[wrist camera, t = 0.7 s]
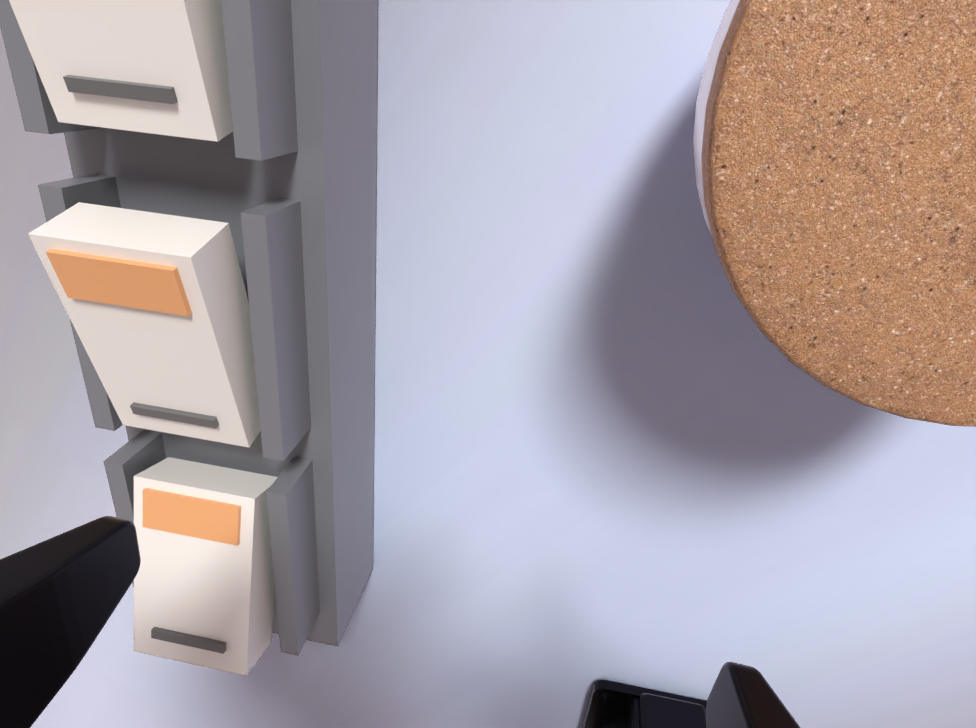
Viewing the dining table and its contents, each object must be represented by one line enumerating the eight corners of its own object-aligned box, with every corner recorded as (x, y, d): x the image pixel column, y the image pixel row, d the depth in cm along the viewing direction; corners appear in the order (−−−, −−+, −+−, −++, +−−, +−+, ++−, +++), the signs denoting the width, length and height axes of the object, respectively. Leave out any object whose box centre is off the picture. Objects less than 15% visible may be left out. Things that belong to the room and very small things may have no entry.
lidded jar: (842, 361, 19) (1036, 590, 11) (582, 136, 17) (569, 196, 9) (1230, 56, 14) (2130, 34, 6) (924, -292, 13) (1564, -1001, 4)
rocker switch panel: (372, 631, 28) (321, 758, 23) (230, 602, 29) (150, 718, 23) (380, -233, 14) (259, -403, 9) (112, -247, 15) (-138, -412, 10)
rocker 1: (271, 642, 20) (243, 679, 19) (166, 620, 21) (130, 654, 19) (280, 477, 19) (252, 501, 17) (168, 457, 19) (130, 477, 18)
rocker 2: (275, 407, 18) (246, 451, 16) (156, 387, 18) (119, 428, 17) (228, 222, 14) (186, 260, 13) (78, 202, 14) (22, 237, 13)
